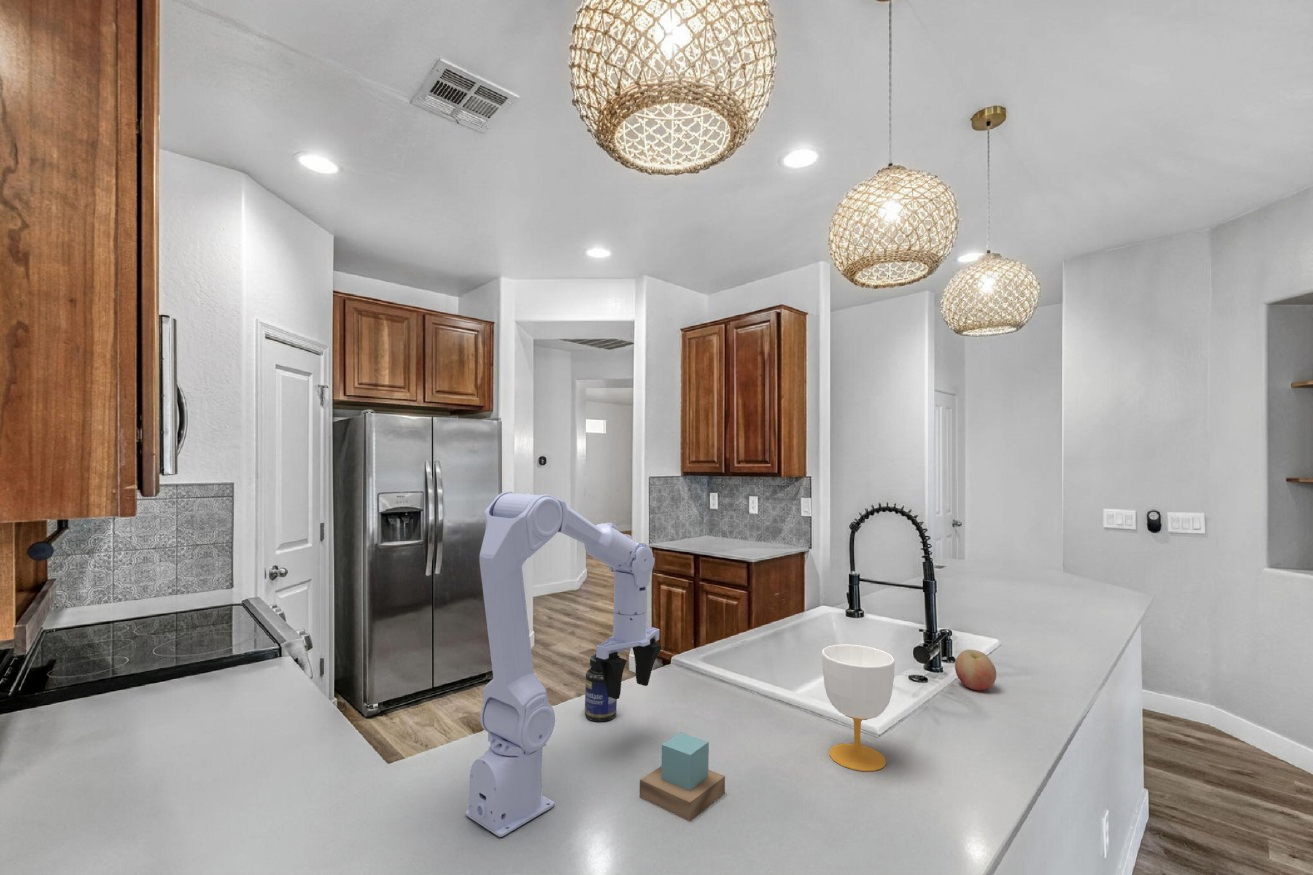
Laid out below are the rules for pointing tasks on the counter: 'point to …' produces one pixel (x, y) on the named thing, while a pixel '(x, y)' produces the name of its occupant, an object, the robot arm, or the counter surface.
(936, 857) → the counter surface
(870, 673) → the cup
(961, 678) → the fruit
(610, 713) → the pill bottle
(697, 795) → the walnut block
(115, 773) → the counter surface
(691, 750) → the teal cube
